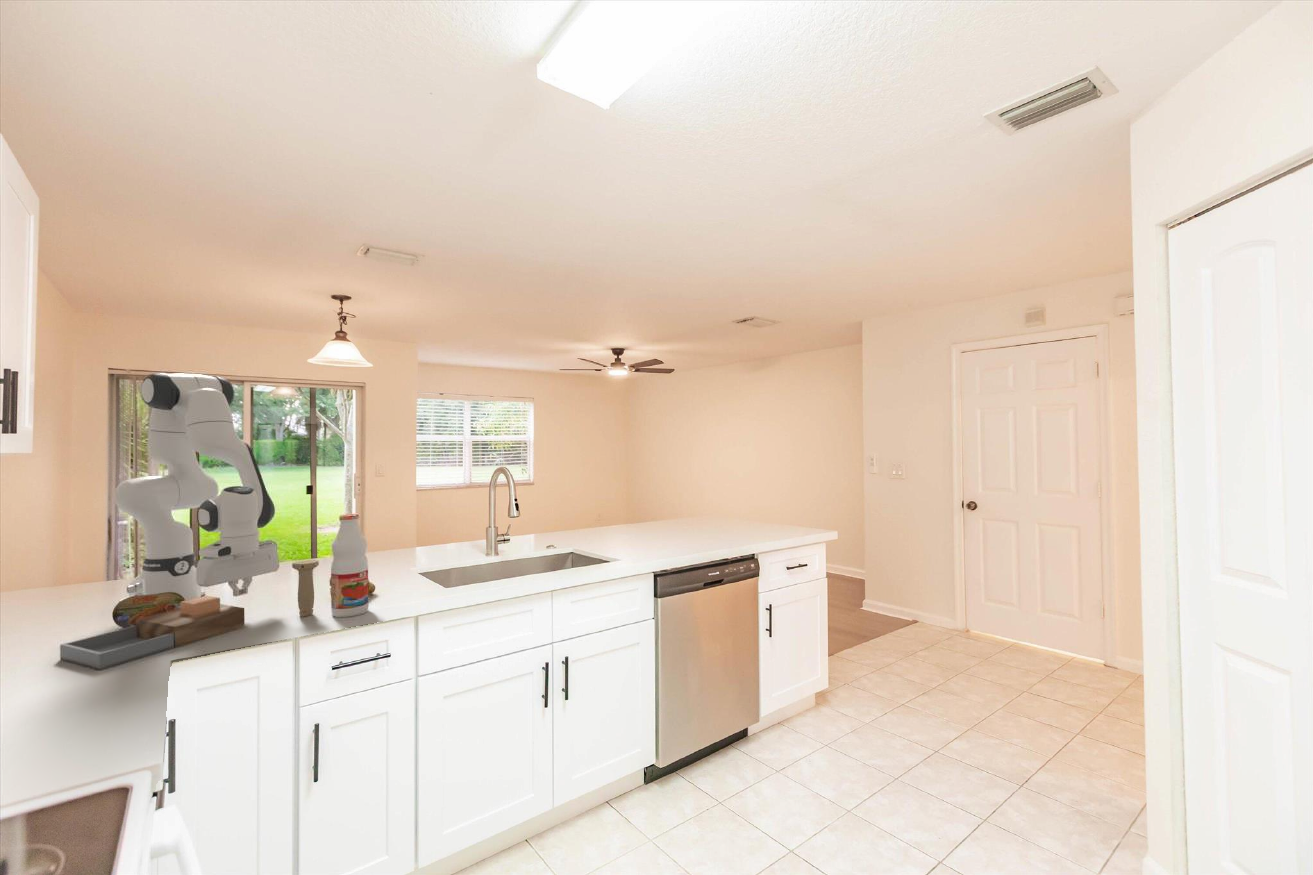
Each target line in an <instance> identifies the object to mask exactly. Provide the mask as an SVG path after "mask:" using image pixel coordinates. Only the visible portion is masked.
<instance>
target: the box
mask: <svg viewBox="0 0 1313 875" xmlns="http://www.w3.org/2000/svg"><path fill="white" fill-rule="evenodd" d="M174 648H175V647H174V633H170V634H167V635H163V636H159V637H156V638H152V639H149V640H146V639H141V638H137V626H131V627H128V628H121V629H117V630H112V631H109V632H104V633H101V634H97V635H93V636H89V637H86V638H81V639H77V640H73V641H70V642H67V643H66V642H65V643H61V644H59V653H60V654H59V655H60V656H59V657H60V659H59V660H60V661H62V662H67V663H71V664H74V665H77V666H82V667H84V668H85V667H86V668H89V669H92V670H97V671H103V670H106V669H109V668H112V667H115V666H119V665H122V664H125V663H128V662H132V661H135V660H139V659H142V658H145V657H148V656H151V655H156V654H159V653H162V652H166V651H168V650H172V649H174Z"/></svg>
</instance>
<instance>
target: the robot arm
mask: <svg viewBox="0 0 1313 875" xmlns="http://www.w3.org/2000/svg"><path fill="white" fill-rule="evenodd" d="M140 394H141V399H142V401H143V403H144V404H145V405H147V406H148V407H150V408H152V409H151V413H150V418H149V422H148V423H149V424H148V441H147V443H148V444H147V454H148V456H149V457H150V458H151V459H152V460H153V461H155V462H158V463H160V464H162V465H165V466H166V467H167V471H168V473H167V475H166V474H165V475H151V476H140V477H135V478H134V477H133V478H130V479H127V480H123V481H122V482H120V483H119V484H118V485H117V487H116V488H115V490H114V493H113V500H114V503H115V505H116V507H117V508H118V509H119V510H120V511H122V512H123V513H125V514H127V515H129V516H131V517H132V518H134V519H135V520H136V521H137V523H138V524H139V525H140V527H141V528H142V532H143V533H144V534H143V535H144V542H145V553H146V554H145V558H144V559H142V561H143V562H142V568H141V570H142V571H141V572H140V573H139V574H138V575H137V576H136V577H134V578H133V580H131V581H130V583H129V585H127V587H126V593H127V594H128V596H126V597H123V598H120V599H119V600H118V603H119V602H121V601H122V600H124V599H126V598H129V597H133V596H140V595H149V594H157V593H165V592H175V593H178V594H180V595H181V596H183V597H184V599H185V601H186V600H190V599H194V598H198V597H202V596H205V594H206V590H205V589H204V590H203V589H202V587H204V588H209V587H214V586H216V585H217V586H218V585H223V584H226V583H227V584H228V586H229V587H230V588H231V590H232V595H233V597H239V596H243V595H244V596H245V595H247V594H248V593H249V587H250V585H251V584H252V581H253V577H257V576H262V575H265V574H270V573H274V572H277V571H278V570H279V569H280V560H279V552H278V543H277V542H276V541H275V540H273V539H268V540H263V541H260V530H259V529H262V528H265V527H266V526H267V525H268V524H269V523H270V522H271V521H272V520H273V518H274V517H275V514H276V509H275V504H274V502H273V500H272V498H271V496H270V494H269V493H268V490H267V488H266V485H265V483H264V479H263V477H262V474H261V473H262V472H261V471H260V468H259V464H258V462H257V460H256V457H255V454H254V452H253V451H252V449H251V447H250V445H249V444H248V443H247V442H244V441H243V440H242V439H241V438H240V437H239V435H238V434H237V431H236V429H235V425H234V420H233V415H232V411H231V408H230V406H231V405H232V403H233V401H234V399H235V390H234V386H233V385H232V383H231V382H230V381H229V380H228V379H227V378H226V379H225V378H223V377H220V376H216V375H214V376H210V375H205V374H197V373H196V374H195V373H165V372H157V373H156V372H155V373H150V374H148V375H146V377H145V378H144V379H143V380H142V383H141V387H140ZM196 453H198V454H200V455H202V456H204V457H206V458H211V459H214V460H217V461H221V462H224V463H226V464H229V465H230V466H233V468H234V469H236V471H237V473H238V476H239V478H240V481H241V484H242V485H237V486H236V485H234V486H227V487H224V488H223V489H222V490H221V491H220V494H219V490H220V489H219V485H218V483H217V481H216V479H215V478H214V477H212V476H211V475H210V474H208V473H207V472H205V471H204V470H203V468H202V467H201V465H200V463H199V461H198V458H197V454H196ZM196 508H197V511H196V522H197V524H198V526H199V527H200V528H201V529H202V530H204V531H206V532H208V533H211V532H212V533H219V534H220V535H219V539H218V540H217V541H215V542H212V543H210V544H209V545H206V546H204V547H202V548H200V549H199V551H198V555H199V556H200V557H201V558H200V559H199V560H198V562H197V565H196V553H195V552H194V532H193V530H192V528H191V527H190V526H189V525H187V524H185V523H183V522H181V521H178V520H175V519H174V517H173V515H172V511H178V510H179V511H180V510H188V509H190V510H191V509H196ZM195 565H196V566H195ZM240 580H241V581H242V582H243V583H242V585H241V587H238V584H239V581H240Z"/></svg>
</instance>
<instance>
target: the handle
mask: <svg viewBox="0 0 1313 875" xmlns="http://www.w3.org/2000/svg"><path fill="white" fill-rule="evenodd" d="M291 564H292V565H291V567H292V568H293V569H294V570H296V571H297V572H298V588H297V604H298V605H297V606H298V610H299V611H298V613H299V617H308V616H311V615H313V613H314V609H313V608H314V605H315V603H314V602H315V589H314V587H315V586H314V576H313V575H314V574H313V572H314V569H315V568H317V567H318V566H319V564H320V560H318V559H307V560H306V559H305V560H298V561H294V562H292V563H291Z"/></svg>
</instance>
